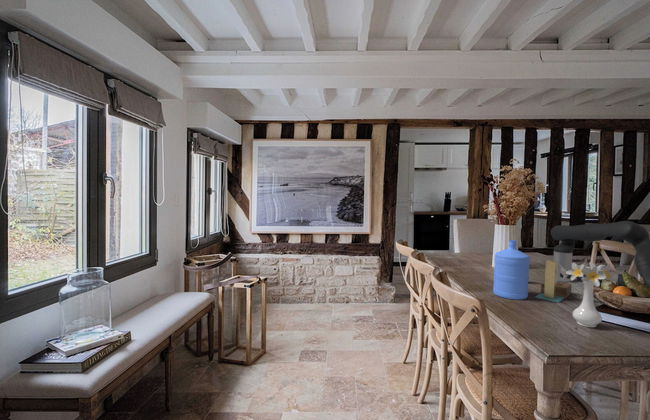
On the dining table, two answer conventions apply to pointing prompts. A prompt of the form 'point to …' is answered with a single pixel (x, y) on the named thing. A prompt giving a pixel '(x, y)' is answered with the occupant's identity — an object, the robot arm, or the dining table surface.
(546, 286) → the tan wooden peg
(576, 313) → the flower vase
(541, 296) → the teal mat
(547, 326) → the dining table surface
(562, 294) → the socket block
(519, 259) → the water jug
